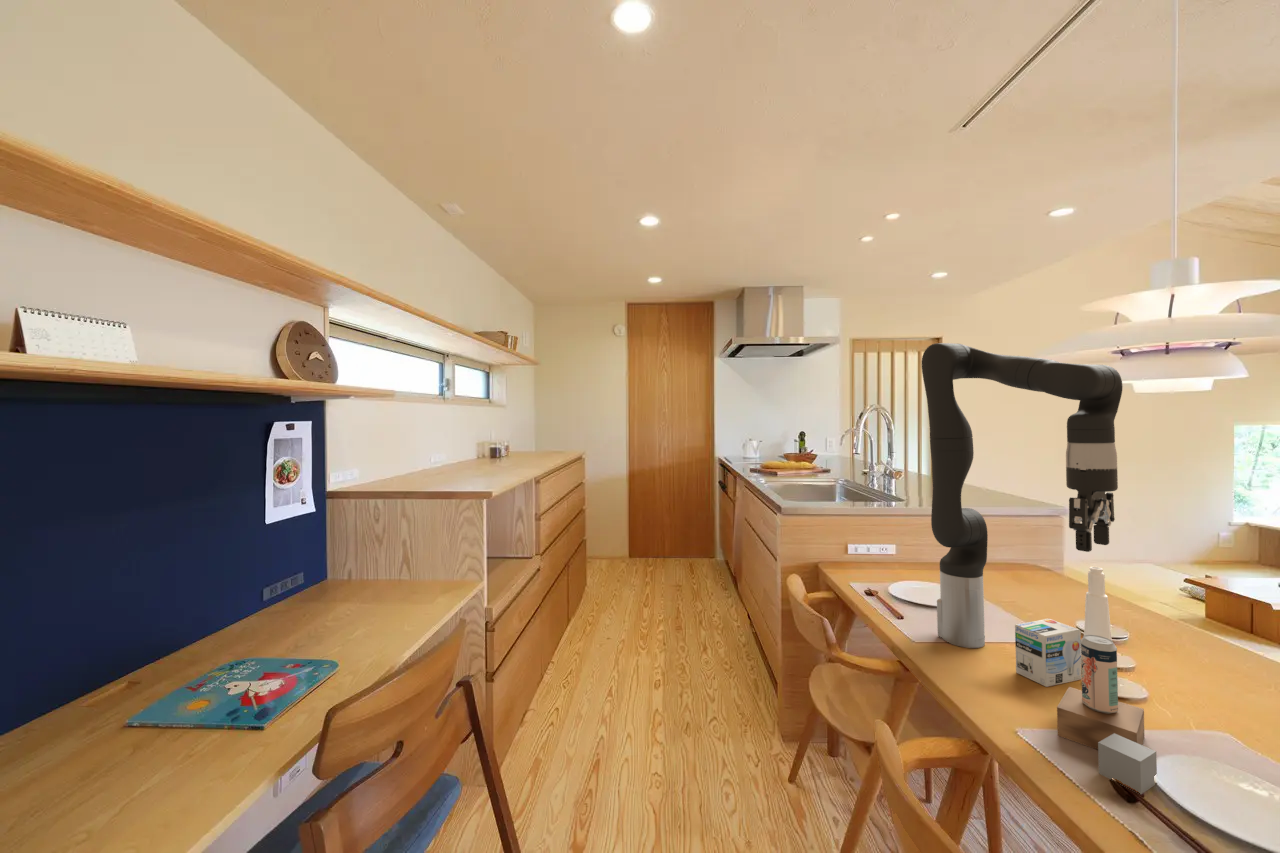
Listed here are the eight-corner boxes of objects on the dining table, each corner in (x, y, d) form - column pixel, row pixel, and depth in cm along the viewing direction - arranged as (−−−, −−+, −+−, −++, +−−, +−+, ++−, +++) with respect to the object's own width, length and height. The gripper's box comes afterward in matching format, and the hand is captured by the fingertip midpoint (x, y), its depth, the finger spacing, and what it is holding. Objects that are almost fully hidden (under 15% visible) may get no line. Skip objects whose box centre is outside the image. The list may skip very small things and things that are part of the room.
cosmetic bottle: (1073, 659, 115) (1071, 563, 115) (1103, 660, 114) (1101, 564, 114) (1093, 672, 109) (1090, 571, 109) (1124, 673, 108) (1122, 572, 108)
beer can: (1080, 697, 91) (1079, 631, 91) (1117, 706, 88) (1115, 638, 88) (1082, 709, 87) (1080, 640, 87) (1120, 718, 84) (1118, 648, 84)
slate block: (1098, 773, 78) (1098, 742, 78) (1115, 764, 81) (1114, 733, 80) (1141, 795, 74) (1140, 761, 74) (1157, 784, 76) (1156, 751, 76)
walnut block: (1057, 735, 88) (1057, 707, 88) (1069, 713, 94) (1068, 686, 94) (1137, 764, 80) (1136, 733, 80) (1144, 737, 87) (1143, 708, 87)
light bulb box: (1046, 688, 103) (1045, 636, 103) (1014, 672, 110) (1013, 623, 110) (1083, 679, 106) (1082, 629, 106) (1049, 665, 113) (1048, 617, 113)
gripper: (1082, 462, 105) (1083, 539, 105) (1051, 466, 98) (1053, 549, 98) (1130, 464, 99) (1131, 546, 99) (1101, 469, 92) (1103, 557, 92)
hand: (1092, 547), depth 98 cm, fingers open, 8 cm apart
